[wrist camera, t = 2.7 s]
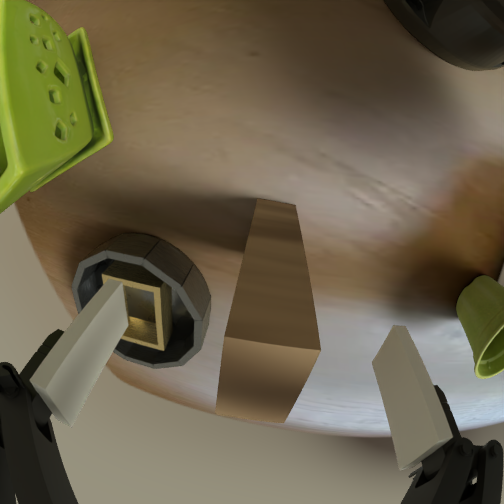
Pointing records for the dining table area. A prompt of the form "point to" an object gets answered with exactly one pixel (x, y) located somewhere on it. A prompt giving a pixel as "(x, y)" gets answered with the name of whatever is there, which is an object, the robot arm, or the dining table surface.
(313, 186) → the dining table surface
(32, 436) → the robot arm
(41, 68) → the flower pot
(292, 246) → the wooden slab
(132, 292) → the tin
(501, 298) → the plant pot
